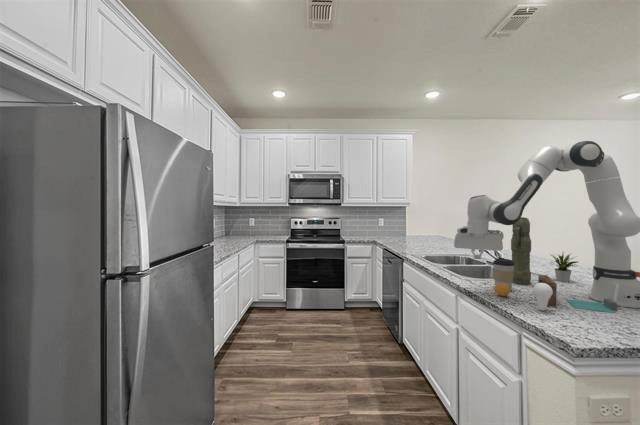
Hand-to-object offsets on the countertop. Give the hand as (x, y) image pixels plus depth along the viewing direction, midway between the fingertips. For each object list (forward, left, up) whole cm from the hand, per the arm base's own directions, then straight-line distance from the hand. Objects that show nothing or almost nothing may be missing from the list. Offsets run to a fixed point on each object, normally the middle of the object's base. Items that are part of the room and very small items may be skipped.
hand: (477, 258), depth 135 cm
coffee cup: (-12, -13, -17) cm, 24 cm away
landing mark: (-41, 0, -16) cm, 44 cm away
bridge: (-27, 0, -16) cm, 31 cm away
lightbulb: (-22, +15, -17) cm, 31 cm away
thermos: (-22, -30, -17) cm, 40 cm away
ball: (-10, 0, -13) cm, 17 cm away
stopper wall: (-47, 0, -16) cm, 50 cm away
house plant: (-42, -43, -17) cm, 62 cm away
